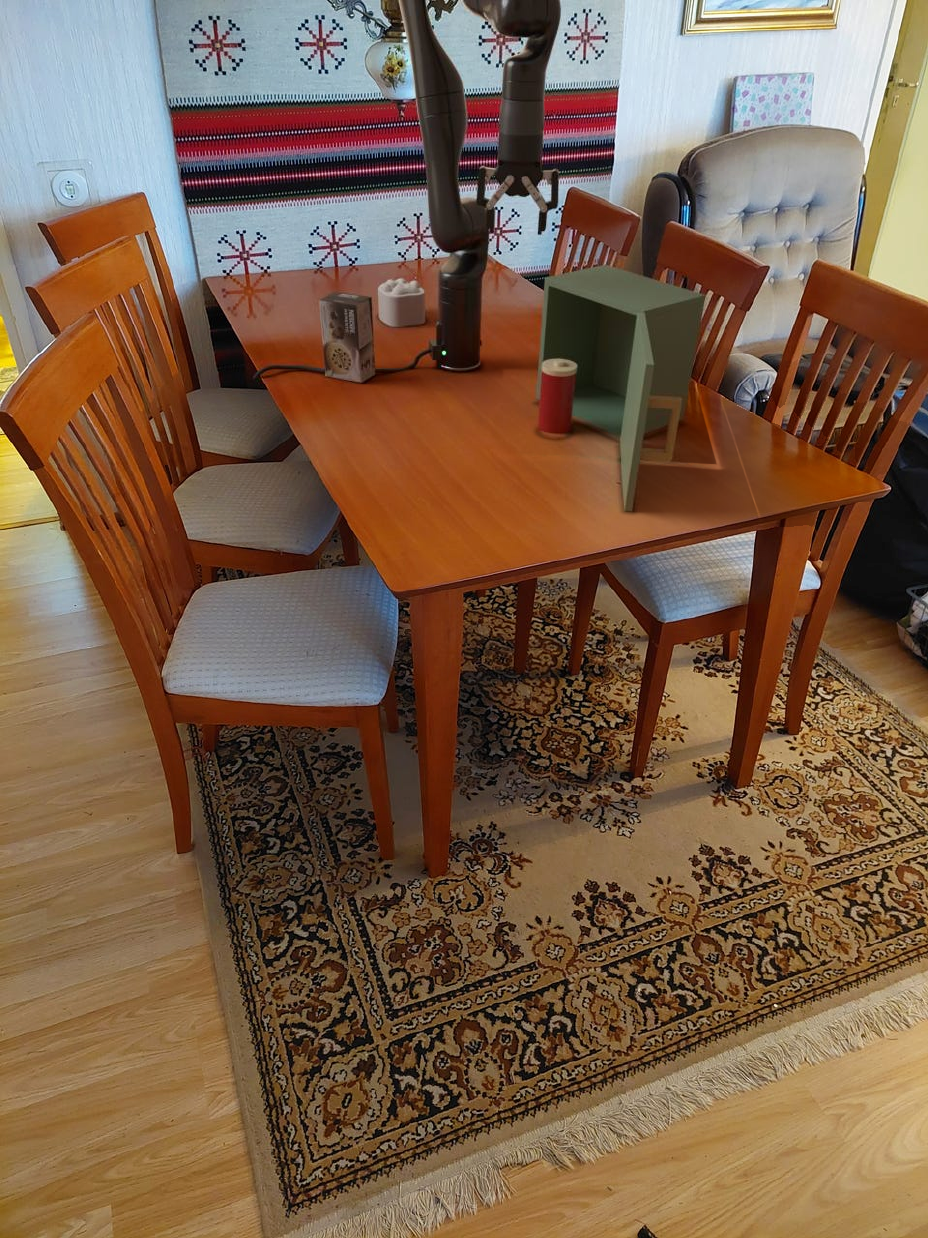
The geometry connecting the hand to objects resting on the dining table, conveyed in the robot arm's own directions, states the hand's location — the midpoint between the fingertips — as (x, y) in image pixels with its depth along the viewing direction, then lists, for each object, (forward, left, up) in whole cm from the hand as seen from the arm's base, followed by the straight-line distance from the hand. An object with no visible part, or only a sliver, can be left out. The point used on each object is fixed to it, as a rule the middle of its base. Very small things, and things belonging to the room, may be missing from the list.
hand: (515, 232), depth 157 cm
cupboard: (+20, -2, -32) cm, 38 cm away
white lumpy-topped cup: (-30, +50, -32) cm, 67 cm away
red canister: (+10, -12, -32) cm, 36 cm away
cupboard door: (+25, -29, -32) cm, 50 cm away
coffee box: (-34, +10, -32) cm, 48 cm away
